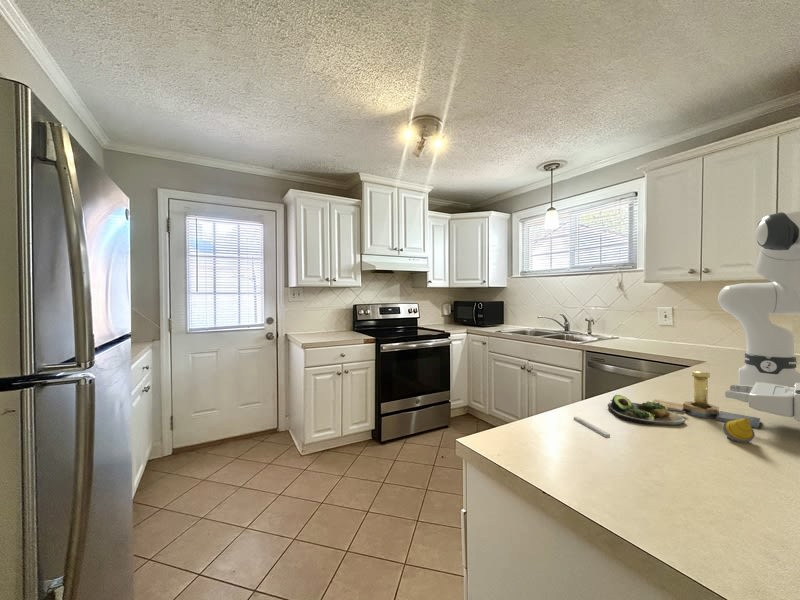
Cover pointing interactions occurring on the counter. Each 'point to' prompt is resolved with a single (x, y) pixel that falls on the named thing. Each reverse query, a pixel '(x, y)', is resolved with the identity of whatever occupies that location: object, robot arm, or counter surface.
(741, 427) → the lemon wedge on dish
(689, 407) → the hinge
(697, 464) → the counter surface
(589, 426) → the white rod
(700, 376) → the hinge pin
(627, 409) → the salad plate
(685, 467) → the counter surface
